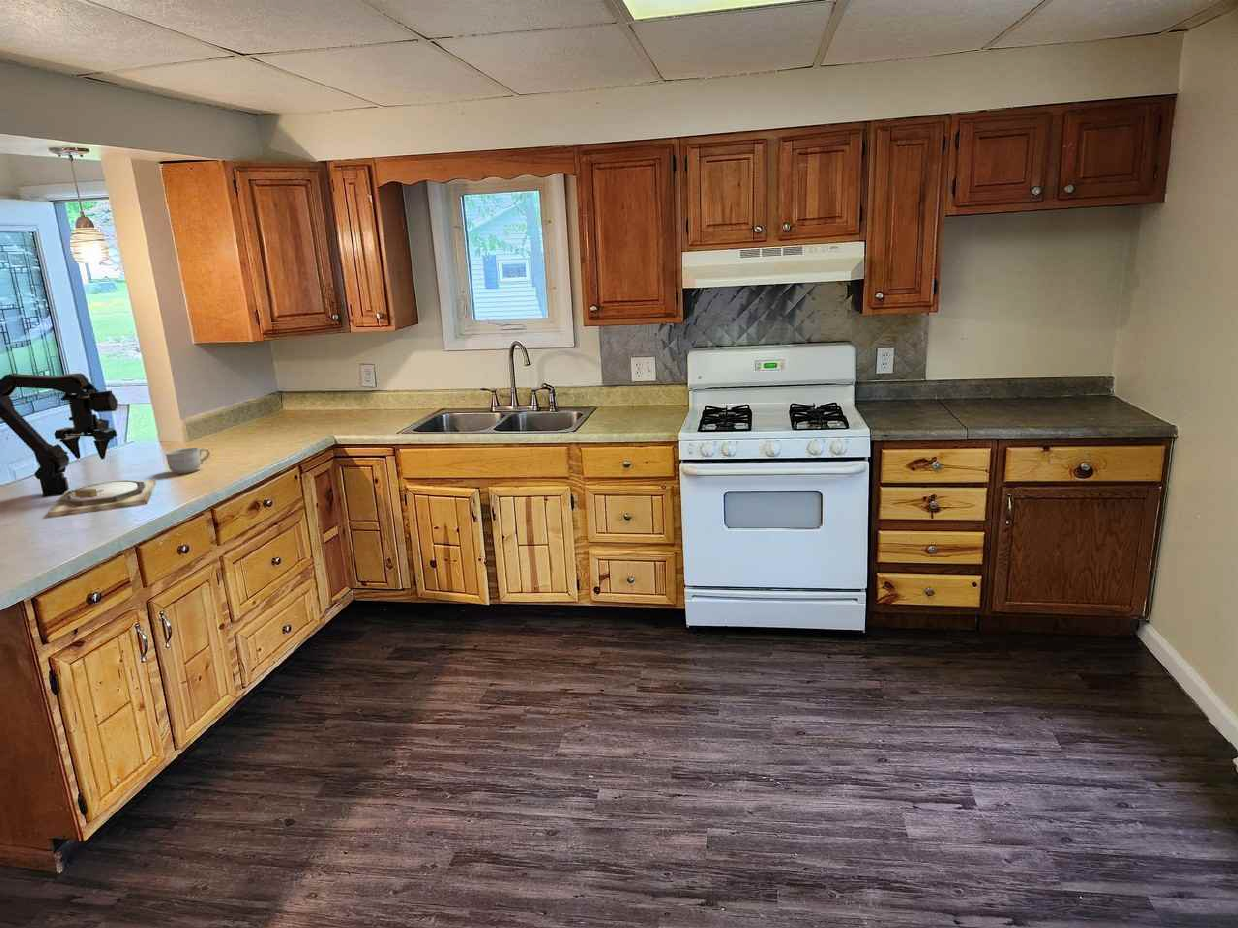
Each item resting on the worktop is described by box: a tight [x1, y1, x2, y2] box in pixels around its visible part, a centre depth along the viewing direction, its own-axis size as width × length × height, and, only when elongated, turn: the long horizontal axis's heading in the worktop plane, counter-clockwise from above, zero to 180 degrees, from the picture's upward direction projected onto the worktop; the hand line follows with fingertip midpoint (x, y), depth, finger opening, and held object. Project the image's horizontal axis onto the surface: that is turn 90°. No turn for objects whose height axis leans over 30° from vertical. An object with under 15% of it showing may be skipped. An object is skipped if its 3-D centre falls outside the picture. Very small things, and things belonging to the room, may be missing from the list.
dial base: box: [47, 479, 157, 518], centre depth 257 cm, size 26×26×3 cm
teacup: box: [165, 447, 211, 474], centre depth 289 cm, size 14×11×8 cm
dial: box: [69, 481, 138, 500], centre depth 257 cm, size 19×19×4 cm
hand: (90, 458), depth 266 cm, fingers open, 9 cm apart
